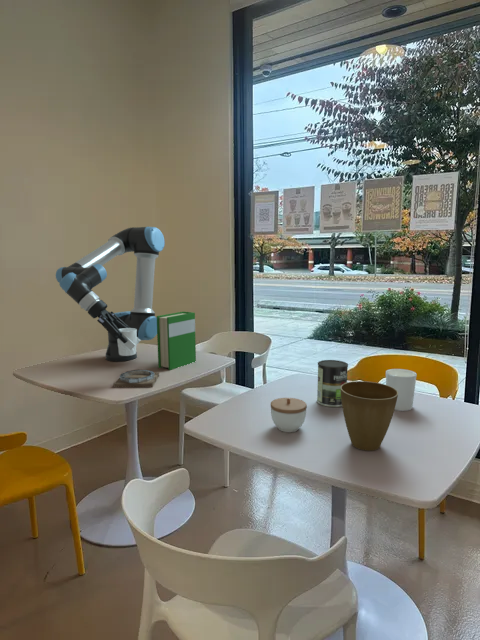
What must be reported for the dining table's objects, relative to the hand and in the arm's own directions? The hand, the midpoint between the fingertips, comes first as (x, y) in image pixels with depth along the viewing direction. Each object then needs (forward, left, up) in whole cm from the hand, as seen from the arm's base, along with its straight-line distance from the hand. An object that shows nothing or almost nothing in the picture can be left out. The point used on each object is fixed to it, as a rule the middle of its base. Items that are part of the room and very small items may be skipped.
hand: (135, 345), depth 173 cm
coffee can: (+25, +74, -16) cm, 80 cm away
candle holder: (+30, +96, -16) cm, 102 cm away
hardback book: (-27, +13, -16) cm, 33 cm away
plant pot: (+59, +76, -16) cm, 98 cm away
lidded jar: (+47, +56, -16) cm, 75 cm away
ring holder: (-1, 0, -15) cm, 15 cm away
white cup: (0, -3, -4) cm, 5 cm away
